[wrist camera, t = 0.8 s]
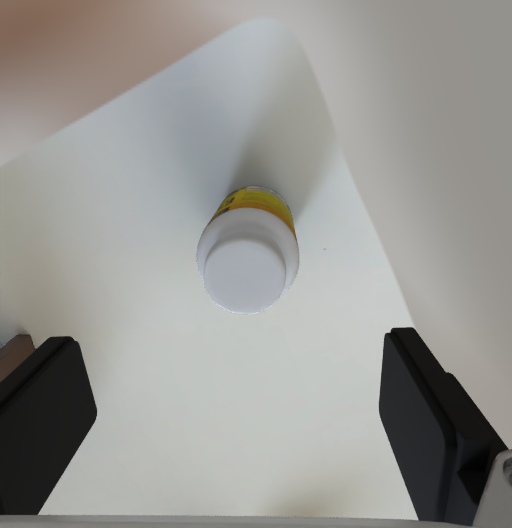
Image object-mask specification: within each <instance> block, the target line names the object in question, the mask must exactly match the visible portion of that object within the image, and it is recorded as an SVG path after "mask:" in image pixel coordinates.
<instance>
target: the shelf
mask: <svg viewBox="0 0 512 528" xmlns="http://www.w3.org/2000/svg"><path fill="white" fill-rule="evenodd" d="M34 351H35V349H34V346H33V343H32V340H31V337H30V335H16V336H15V337H14V338H13V339H12V340H10V341H9V342H8V343H7V344H6V345H4V346H3V347H2V348H1V349H0V382H1V381H2V380H4V379H5V378H6V377H7V376H8V375H9V374H10V373H11V372H12V371H13V370H14V369H16V368H17V367H18V366H19V365H20V364H21V363H22V362H23V361H24V360H25V359H26V358H27V357H29V356H30V355H31V354H32V353H33V352H34Z"/></svg>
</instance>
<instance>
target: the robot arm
mask: <svg viewBox="0 0 512 528" xmlns="http://www.w3.org/2000/svg"><path fill="white" fill-rule="evenodd" d="M379 413H380V418H381V421H382V423H383V426H384V429H385V431H386V434H387V437H388V439H389V442H390V445H391V447H392V450H393V453H394V455H395V458H396V461H397V463H398V466H399V469H400V471H401V474H402V477H403V479H404V482H405V485H406V487H407V490H408V493H409V495H410V498H411V501H412V503H413V506H414V509H415V511H416V514H417V517H418V519H419V521H418V520H403V519H371V518H339V517H267V516H164V515H38V513H39V512H40V510H41V508H42V507H43V505H44V503H45V502H46V500H47V499H48V497H49V495H50V494H51V492H52V490H53V489H54V487H55V486H56V484H57V482H58V481H59V479H60V477H61V476H62V474H63V473H64V471H65V469H66V468H67V466H68V464H69V463H70V461H71V459H72V458H73V456H74V455H75V453H76V451H77V450H78V448H79V446H80V445H81V443H82V442H83V440H84V438H85V437H86V435H87V433H88V432H89V430H90V429H91V427H92V425H93V424H94V422H95V420H96V416H97V408H96V404H95V400H94V397H93V393H92V389H91V386H90V382H89V378H88V375H87V371H86V367H85V364H84V360H83V356H82V353H81V349H80V345H79V343H78V342H77V341H74V339H73V338H72V337H70V336H62V337H50V338H48V339H47V340H46V341H45V342H44V343H43V344H42V345H41V346H39V347H38V348H37V349H36V350H35V351H34V352H33V353H32V354H31V355H30V356H29V357H27V358H26V359H25V360H24V361H23V362H22V363H21V364H20V365H19V366H18V367H17V368H16V369H14V370H13V371H12V372H11V373H10V374H9V375H8V376H7V377H6V378H5V379H4V380H2V381H1V382H0V528H512V449H511V450H509V449H508V448H507V446H506V445H505V444H504V442H503V441H502V440H501V438H500V437H499V436H498V434H497V433H496V431H495V430H494V429H493V427H492V426H491V425H490V423H489V422H488V421H487V420H486V418H485V417H484V415H483V414H482V413H481V411H480V410H479V409H478V407H477V406H476V404H475V403H474V402H473V400H472V399H471V398H470V396H469V395H468V394H467V392H466V391H465V390H464V388H463V387H462V386H461V384H460V383H459V382H458V380H457V379H456V378H455V377H454V375H453V374H451V373H449V372H448V373H446V372H445V371H444V369H443V368H442V366H441V365H440V364H439V362H438V361H437V360H436V358H435V357H434V355H433V354H432V353H431V351H430V350H429V348H428V347H427V346H426V344H425V343H424V341H423V340H422V339H421V337H420V336H419V334H418V333H417V332H416V330H415V329H414V328H412V327H406V328H392V329H391V333H386V334H385V337H384V348H383V360H382V373H381V385H380V398H379Z"/></svg>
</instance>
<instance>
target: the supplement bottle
mask: <svg viewBox="0 0 512 528" xmlns="http://www.w3.org/2000/svg"><path fill="white" fill-rule="evenodd" d="M196 261H197V267H198V271H199V273H200V276H201V278H202V280H203V282H204V286H205V289H206V291H207V293H208V295H209V296H210V298H211V299H212V300H213V301H214V302H215V303H216V304H217V305H218V306H220V307H221V308H223V309H225V310H227V311H229V312H232V313H236V314H245V315H248V314H255V313H259V312H261V311H264V310H266V309H268V308H269V307H270V306H272V305H273V304H274V303H275V302H276V301H277V300H278V299H279V297H280V296H281V295H283V294H284V293H285V292H286V291H287V290H288V289H289V287H290V286H291V284H292V283H293V281H294V279H295V277H296V275H297V271H298V268H299V249H298V244H297V239H296V234H295V229H294V225H293V219H292V215H291V212H290V209H289V207H288V205H287V204H286V202H285V201H284V200H283V199H282V198H281V197H280V196H279V195H278V194H277V193H275V192H274V191H272V190H270V189H267V188H264V187H259V186H249V187H244V188H240V189H238V190H236V191H234V192H233V193H231V194H230V195H229V196H228V197H227V198H226V199H225V200H224V201H223V202H222V204H221V205H220V207H219V208H218V210H217V211H216V213H215V214H214V216H213V217H212V219H211V220H210V222H209V224H208V225H207V227H206V228H205V230H204V231H203V233H202V235H201V237H200V240H199V243H198V246H197V253H196Z"/></svg>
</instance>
